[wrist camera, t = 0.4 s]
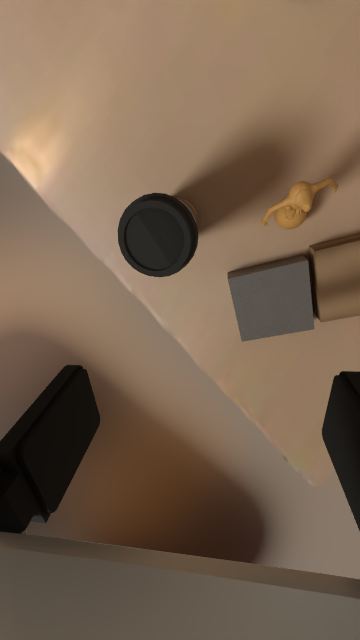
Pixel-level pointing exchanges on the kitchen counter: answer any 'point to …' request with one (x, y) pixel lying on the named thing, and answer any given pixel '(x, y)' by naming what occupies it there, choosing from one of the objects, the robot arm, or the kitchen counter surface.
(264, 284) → the grey metal stand
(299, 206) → the figurine
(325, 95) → the kitchen counter surface
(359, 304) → the walnut stand
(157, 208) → the coffee cup
